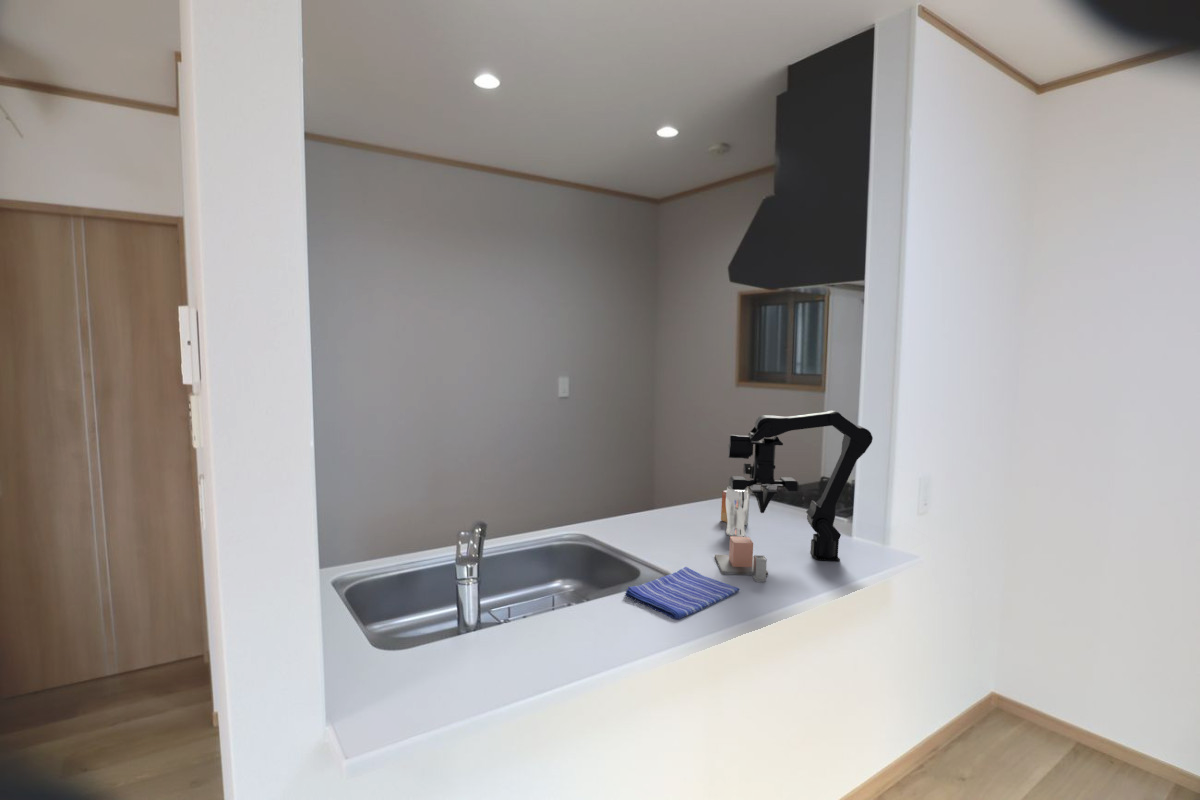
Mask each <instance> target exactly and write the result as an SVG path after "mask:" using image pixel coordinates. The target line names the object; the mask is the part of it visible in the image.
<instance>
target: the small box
mask: <svg viewBox="0 0 1200 800" xmlns="http://www.w3.org/2000/svg"><path fill="white" fill-rule="evenodd" d="M726 492H727V489H726V490H722V495H721V509H720V520H721V521H722V522H724V523H726V524H727V523H728V522H727V512H726ZM750 498H751V495H750V494H748V508H747V513H746V518H745V523H744V527H745V525H746V526H748V525H749V511H750Z"/></svg>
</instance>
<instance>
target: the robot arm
mask: <svg viewBox="0 0 1200 800" xmlns="http://www.w3.org/2000/svg"><path fill="white" fill-rule="evenodd" d="M830 426H831V427H833V428H834V429H836V430H837V431H839V432H840V433H841V434H843V438H842V442H841V450H840V451H841V452H840V455H839V457H838V459H837V462H836V465H835V467H834V469H833V471H832V473H831V476H830V477H829V480H828V482H827V484H826V486H825V488H824V491H823V493H822V495H821V497H820V498H819V499H818V500H817V501H815V500H812V499H811V501H810V504H809V507H808V509H807V510H806V514H807V515H806V519H807V522H808V524H809V525H810V527H811V528H812V529H813V531H814V532H815V533H813V534H812V536H813V537H812V538H811V540H810V551H809V552H810V554H811V555H812V556H813V558H814V559H816V560H817V561H828V562H829V561H830V562H832V561H836V562H840V561H841V558H840V557H839V544H840V543H839V542H840V538H841V536H842V535H841V533H840V532H839V531H838V529H837V528H836V526H834V524H835V523H834V522H835V519H836V510H837V504H838V502H839V500H840V498H841V495H842V493H843V492H844V489H845V487H846V484H847V482H848V480H849V478H850V476H851V474H852V472H853V470H854V467H855V465H856V463H857V462H858V460H859V459H860V458H861V457H862V456H863V455H864V454H865V453H866V452H867V450H868V449H869V447H870V446H871V445H872V443H873V434H872V432H871V431H870V430H868V429H867V428H866V427H863V426H861V425H857V424H854V423H853V422H851V421H850V420H848V419H846V418H845V417H844V416H843V415H842V414H841V413H840V412H838V411H836V410H834V409H833V410H828V411H822V412H814V413H807V414H800V415H789V416H785V415H784V416H783V415H782V416H781V415H772V414H771V415H768V414H764V415H760V416H759V417H757V419H756V420H755V422H754V427H753V428H752V429H751V430H750V431H749V433H748V434H747V435H737V434H730V435H729V440H728V444H727V456H728V457H727V458H728V459H737V460H738V459H743V460H748V459H749V458H750V457H751V456H752V457H753V455H754V459H753V464H751V463H743V469H742V470H743V475H745V476H749V479H746V478H745V477H744V476H742V475H741V476H740V475H738V476H737V475H731V476H730V477H729V479H728V480H729V481H728V485H729V486H730V487H731V488H732V489H734V490H744V489H745V488H748V490H749V491H750V492H751V493H752V494H753V495H754V497H755V498H756V502H757V505H758V508H759V509H758V510H759V512H760V514H764V513H765V511H766V510H767V508H768V505H769V504H770V502H771V500H772V499H773V498H774V497H775V495H777V494H779V491H778V490H777V489H778V488H784V489H785V490H786V491H787V492H799V488H800V485H799V482H798V481H797V480H796V479H794V477H788V476H787V477H785V476H783V477H782V476H781V477H780V478H779V480H776V479H775V470H776V463H775V462H776V446H784V443H783V442H782V441H781V440H780V438H779V436H780V435H783V434H785V433H787V432H791V431H799V430H806V429H814V428H822V427H830ZM762 489H763V490H762Z"/></svg>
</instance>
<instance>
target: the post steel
mask: <svg viewBox="0 0 1200 800" xmlns="http://www.w3.org/2000/svg"><path fill="white" fill-rule="evenodd" d="M753 556H754V567H753V575H752V579H753V578H754V579H753V581H754V582H755V581H757V583H765V582H766V579H767V577H766V576H767V575H766V570H767V560H768V559H767V558H766V556H765V555H757V554H756V555H755V554H753Z"/></svg>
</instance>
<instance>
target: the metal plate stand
mask: <svg viewBox="0 0 1200 800" xmlns="http://www.w3.org/2000/svg"><path fill="white" fill-rule="evenodd" d="M714 559H715V562H716V563H717V565H718V568H719V570H720V572H721V575H742V576H753V567H754V555H753V560H752V567H733V566H732V564H731V562H730V560H729V554H714ZM767 575H768V576H769V572H768V570H767V569H766V576H767Z"/></svg>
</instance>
